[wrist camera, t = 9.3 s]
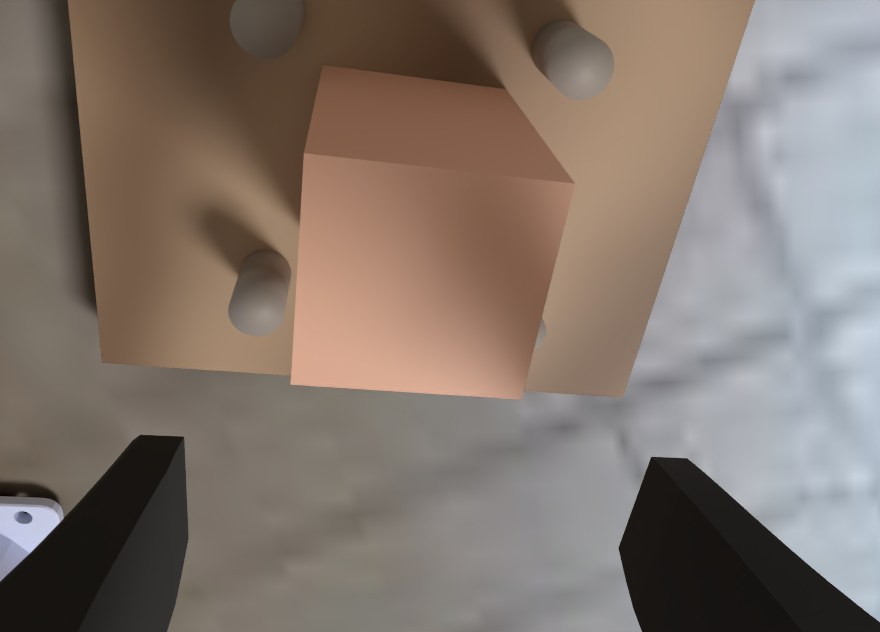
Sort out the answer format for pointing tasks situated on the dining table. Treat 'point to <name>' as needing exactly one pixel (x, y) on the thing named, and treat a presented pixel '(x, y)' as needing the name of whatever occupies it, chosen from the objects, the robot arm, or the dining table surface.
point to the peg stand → (285, 134)
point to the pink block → (423, 237)
